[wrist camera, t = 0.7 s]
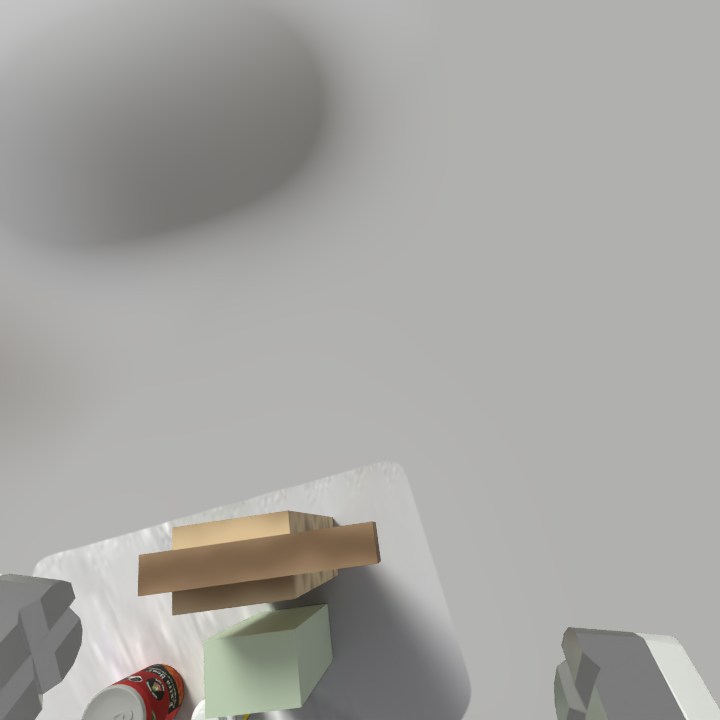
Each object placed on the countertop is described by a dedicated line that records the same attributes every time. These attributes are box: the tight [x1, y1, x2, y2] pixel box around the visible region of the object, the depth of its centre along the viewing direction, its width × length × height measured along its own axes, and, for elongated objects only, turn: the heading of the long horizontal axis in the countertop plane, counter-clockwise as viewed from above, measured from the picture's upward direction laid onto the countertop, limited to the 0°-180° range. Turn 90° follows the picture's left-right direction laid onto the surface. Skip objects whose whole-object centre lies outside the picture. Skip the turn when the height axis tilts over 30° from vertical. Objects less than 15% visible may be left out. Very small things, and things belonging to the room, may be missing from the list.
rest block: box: [204, 604, 333, 719], centre depth 59 cm, size 7×10×19 cm
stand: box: [172, 511, 338, 615], centre depth 59 cm, size 8×12×26 cm, turn 97°
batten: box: [138, 522, 381, 596], centre depth 45 cm, size 4×22×4 cm, turn 97°
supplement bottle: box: [191, 699, 250, 720], centre depth 61 cm, size 6×6×10 cm
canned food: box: [82, 664, 184, 720], centre depth 62 cm, size 8×8×11 cm
